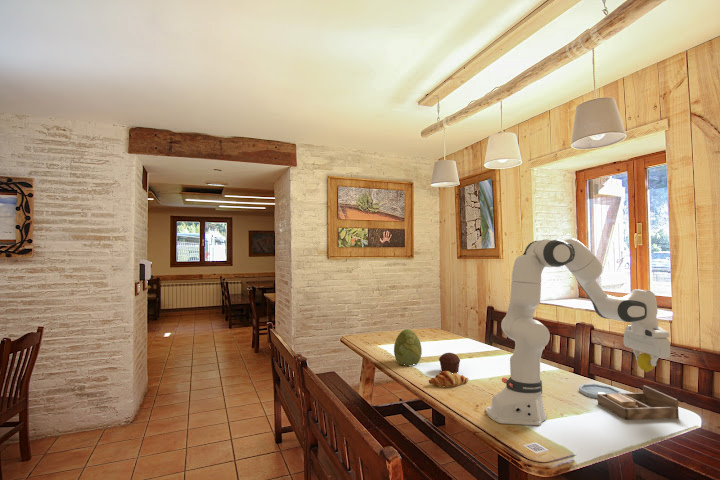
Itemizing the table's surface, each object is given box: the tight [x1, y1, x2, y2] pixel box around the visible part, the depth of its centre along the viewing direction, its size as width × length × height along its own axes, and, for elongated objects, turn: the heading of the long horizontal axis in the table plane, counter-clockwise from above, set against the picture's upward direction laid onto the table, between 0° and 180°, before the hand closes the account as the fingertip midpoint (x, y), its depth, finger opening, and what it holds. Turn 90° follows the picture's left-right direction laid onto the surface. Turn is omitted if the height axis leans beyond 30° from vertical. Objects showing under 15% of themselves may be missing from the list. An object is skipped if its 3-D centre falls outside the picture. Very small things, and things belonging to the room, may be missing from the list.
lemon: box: [637, 352, 655, 373], centre depth 154 cm, size 6×6×8 cm
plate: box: [578, 383, 622, 400], centre depth 172 cm, size 16×16×2 cm
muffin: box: [438, 352, 461, 374], centre depth 207 cm, size 12×11×10 cm
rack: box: [597, 385, 680, 421], centre depth 153 cm, size 21×16×7 cm
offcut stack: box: [607, 394, 638, 408], centre depth 153 cm, size 6×9×5 cm
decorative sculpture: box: [393, 328, 423, 366], centre depth 224 cm, size 16×16×20 cm
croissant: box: [428, 371, 469, 388], centre depth 187 cm, size 21×10×8 cm, turn 104°
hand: (645, 363), depth 154 cm, fingers closed on lemon, 6 cm apart
